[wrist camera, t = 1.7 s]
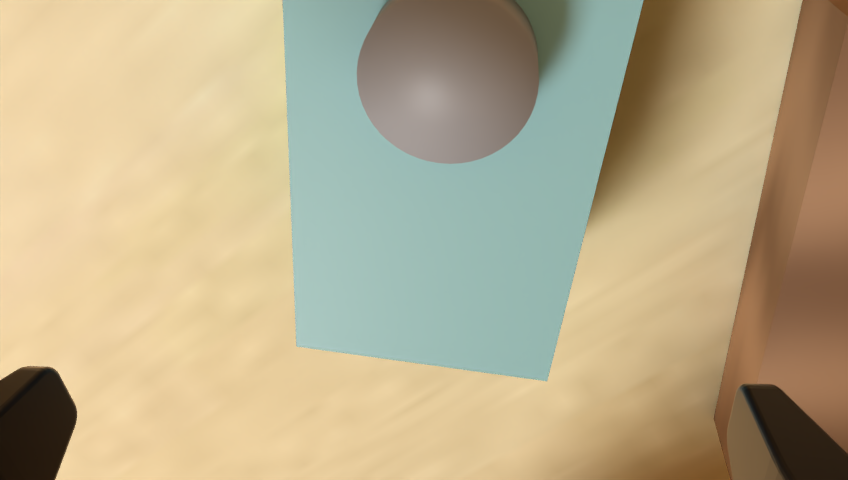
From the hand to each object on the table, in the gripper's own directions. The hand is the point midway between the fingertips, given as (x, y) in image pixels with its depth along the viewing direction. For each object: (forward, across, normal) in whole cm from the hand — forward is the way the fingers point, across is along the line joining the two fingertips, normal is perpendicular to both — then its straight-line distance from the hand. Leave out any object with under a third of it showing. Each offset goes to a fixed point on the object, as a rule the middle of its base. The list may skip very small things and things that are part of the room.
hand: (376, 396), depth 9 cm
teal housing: (+11, 0, 0) cm, 11 cm away
